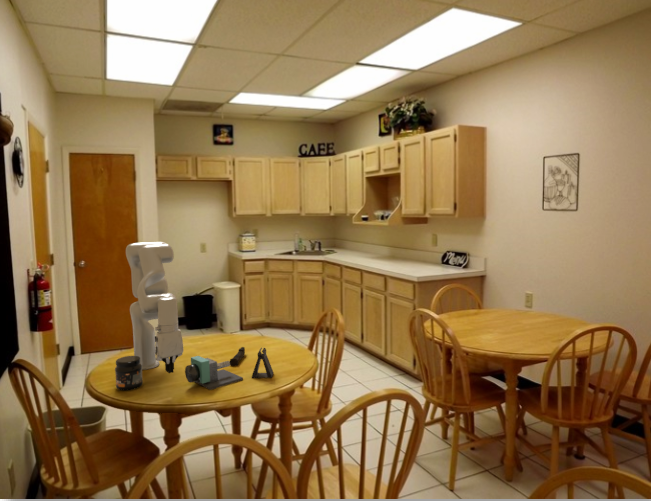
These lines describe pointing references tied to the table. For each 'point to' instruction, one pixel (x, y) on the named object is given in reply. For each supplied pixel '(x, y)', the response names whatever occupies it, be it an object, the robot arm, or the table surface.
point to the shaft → (194, 373)
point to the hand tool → (237, 357)
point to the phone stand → (266, 363)
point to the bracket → (213, 371)
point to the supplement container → (128, 373)
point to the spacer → (202, 368)
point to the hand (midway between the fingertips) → (169, 372)
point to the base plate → (222, 380)
